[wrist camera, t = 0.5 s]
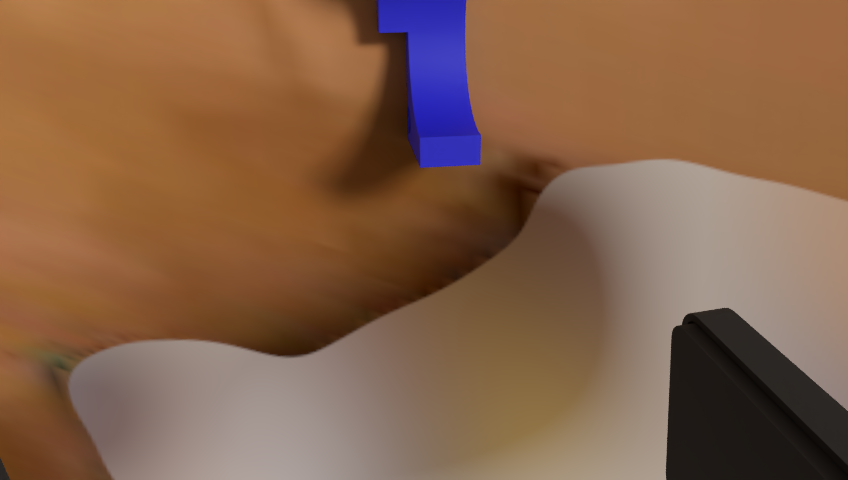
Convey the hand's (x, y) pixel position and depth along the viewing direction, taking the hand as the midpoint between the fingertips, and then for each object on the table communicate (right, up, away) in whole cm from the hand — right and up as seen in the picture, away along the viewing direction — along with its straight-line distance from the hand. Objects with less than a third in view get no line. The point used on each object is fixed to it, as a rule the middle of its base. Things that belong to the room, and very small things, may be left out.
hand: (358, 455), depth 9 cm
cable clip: (+1, +14, +28) cm, 31 cm away
